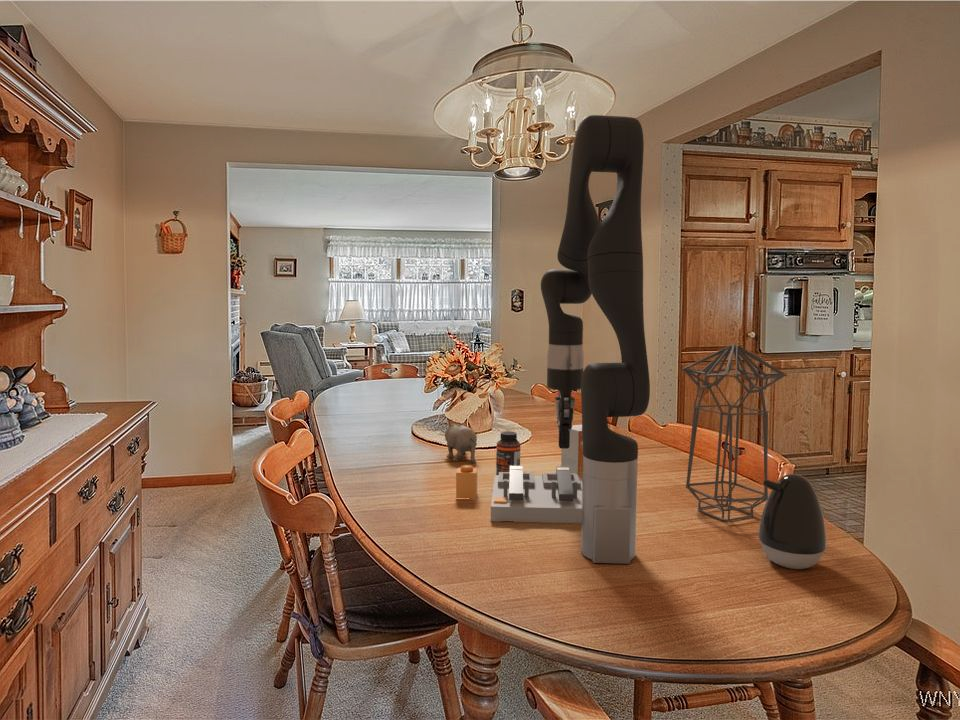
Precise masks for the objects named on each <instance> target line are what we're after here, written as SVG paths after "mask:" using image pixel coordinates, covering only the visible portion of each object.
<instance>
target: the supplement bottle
mask: <svg viewBox="0 0 960 720" xmlns="http://www.w3.org/2000/svg"><path fill="white" fill-rule="evenodd" d="M517 435H518V433H517V432H515V431H511V430H510V431H501V432H500V439H499V440H498V441H497V442H496V451H495V452H496V456H495V459H496V460H495V463H496V465H495V466H496V468H495V473H496V474H495V475H499V472H510V466H521V442H520V441H519V440H518V436H517Z"/></svg>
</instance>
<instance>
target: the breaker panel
mask: <svg viewBox="0 0 960 720" xmlns="http://www.w3.org/2000/svg"><path fill="white" fill-rule="evenodd" d="M534 474H535V473H534V472H527V471H526V472H524V471H523V500H509V479H510V472H499V475H496V474H495V475H494V477H493V478H494V479H493V486H492V494H491V500H490V501H491V502H490V522H501V521H514V523H544V524H545V523H547V524H549V523H550V524H551V523H553V524H554V523H555V524H582V478H581V477H578V474H577V473H570V474H571V480H572V487H573V494H574V496H573V501H559V495H558V486H557V476H556V472H542V474H541V475H534Z"/></svg>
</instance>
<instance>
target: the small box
mask: <svg viewBox="0 0 960 720" xmlns="http://www.w3.org/2000/svg"><path fill="white" fill-rule="evenodd" d="M560 454H561V455H560V457H561V458H560V461H561V463H560V467H570V473H577V474H578V477H581V478H582V481H583V439H582V424H575V425H574V424H573V425H572V428H571V430H570V446H569V448H568V449H564V448H561V453H560Z"/></svg>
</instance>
